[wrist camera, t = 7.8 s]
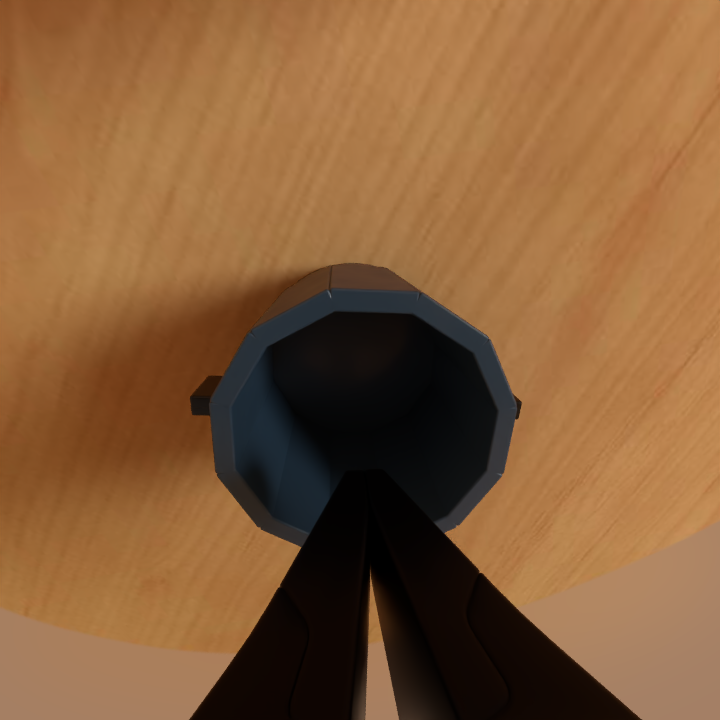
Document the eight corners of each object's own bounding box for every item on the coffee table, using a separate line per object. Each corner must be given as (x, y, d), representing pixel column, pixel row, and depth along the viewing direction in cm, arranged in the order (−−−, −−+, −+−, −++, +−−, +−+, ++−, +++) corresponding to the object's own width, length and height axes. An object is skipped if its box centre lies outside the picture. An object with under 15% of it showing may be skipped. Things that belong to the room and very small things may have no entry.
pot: (525, 553, 10) (590, 298, 8) (179, 560, 10) (138, 280, 7) (450, 428, 17) (474, 268, 15) (243, 426, 16) (232, 257, 14)
